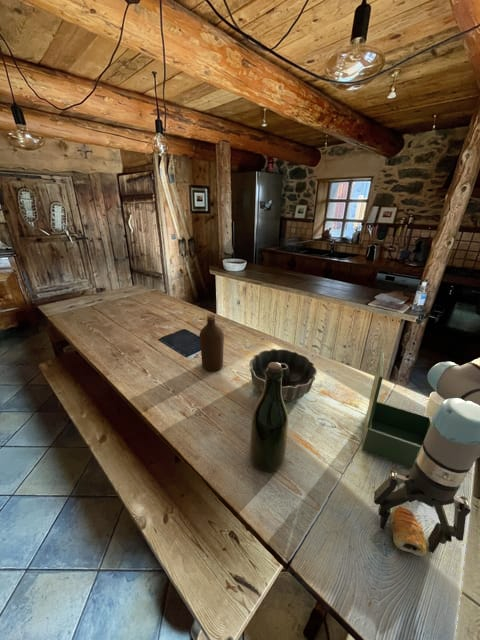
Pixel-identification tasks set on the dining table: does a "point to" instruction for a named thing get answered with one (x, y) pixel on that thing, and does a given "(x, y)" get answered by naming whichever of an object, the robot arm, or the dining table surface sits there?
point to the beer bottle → (269, 423)
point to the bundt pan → (284, 372)
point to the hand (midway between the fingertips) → (405, 534)
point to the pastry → (408, 532)
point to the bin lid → (375, 389)
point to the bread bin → (395, 433)
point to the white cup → (433, 404)
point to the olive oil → (211, 345)
